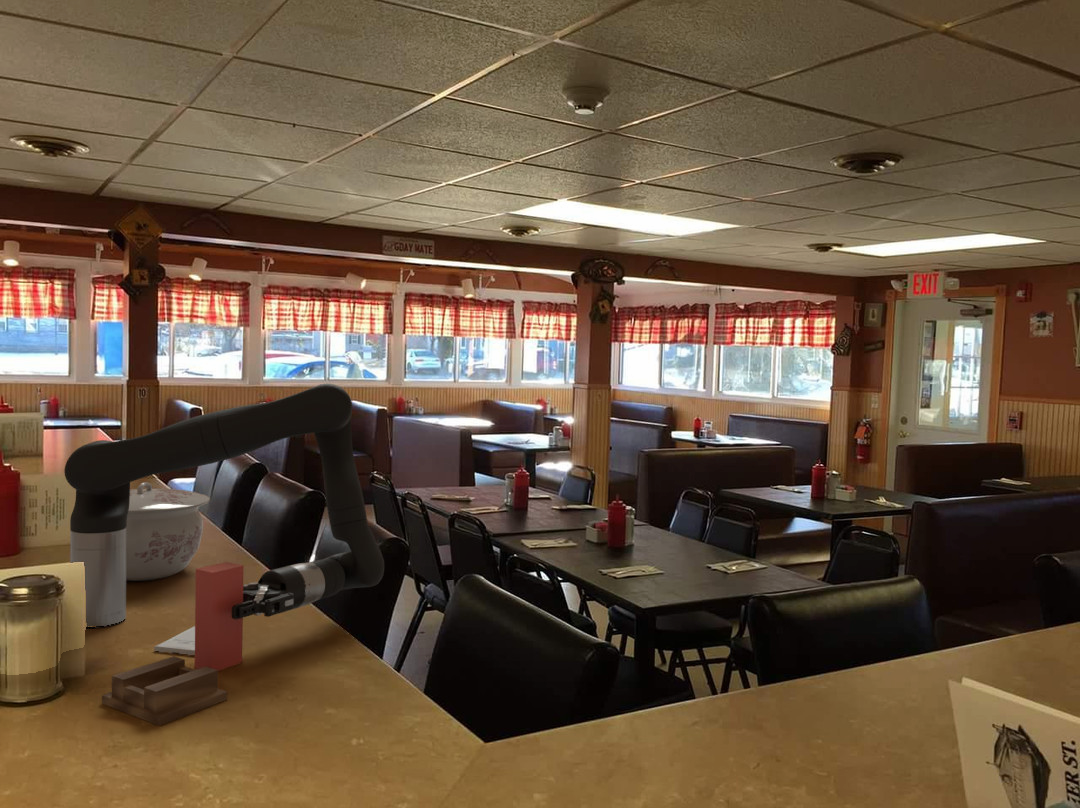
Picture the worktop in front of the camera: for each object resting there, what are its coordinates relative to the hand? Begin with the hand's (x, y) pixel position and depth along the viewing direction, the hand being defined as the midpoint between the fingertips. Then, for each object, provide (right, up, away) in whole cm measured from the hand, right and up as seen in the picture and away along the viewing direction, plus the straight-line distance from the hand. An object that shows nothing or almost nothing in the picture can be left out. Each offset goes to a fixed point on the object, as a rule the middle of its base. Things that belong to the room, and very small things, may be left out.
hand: (215, 608), depth 139 cm
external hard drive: (-8, -9, +12) cm, 17 cm away
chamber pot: (-37, -6, +56) cm, 67 cm away
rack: (-2, -10, -14) cm, 17 cm away
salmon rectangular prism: (0, -9, +1) cm, 10 cm away
